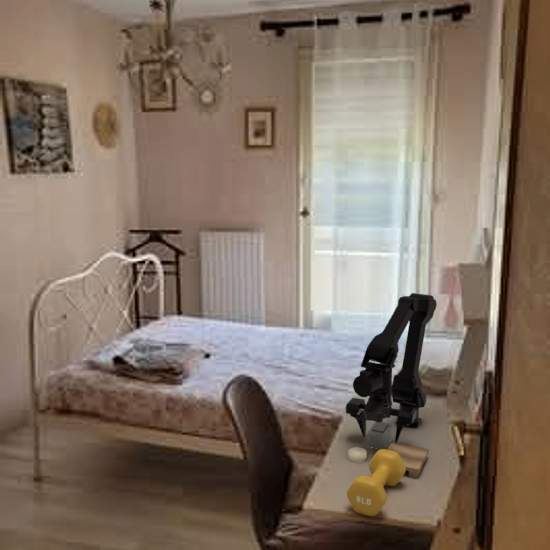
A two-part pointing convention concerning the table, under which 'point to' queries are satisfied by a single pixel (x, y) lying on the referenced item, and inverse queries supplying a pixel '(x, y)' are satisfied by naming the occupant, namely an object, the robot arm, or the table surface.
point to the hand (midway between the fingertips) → (380, 439)
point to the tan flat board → (410, 457)
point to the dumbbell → (376, 482)
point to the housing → (380, 435)
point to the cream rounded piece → (357, 454)
